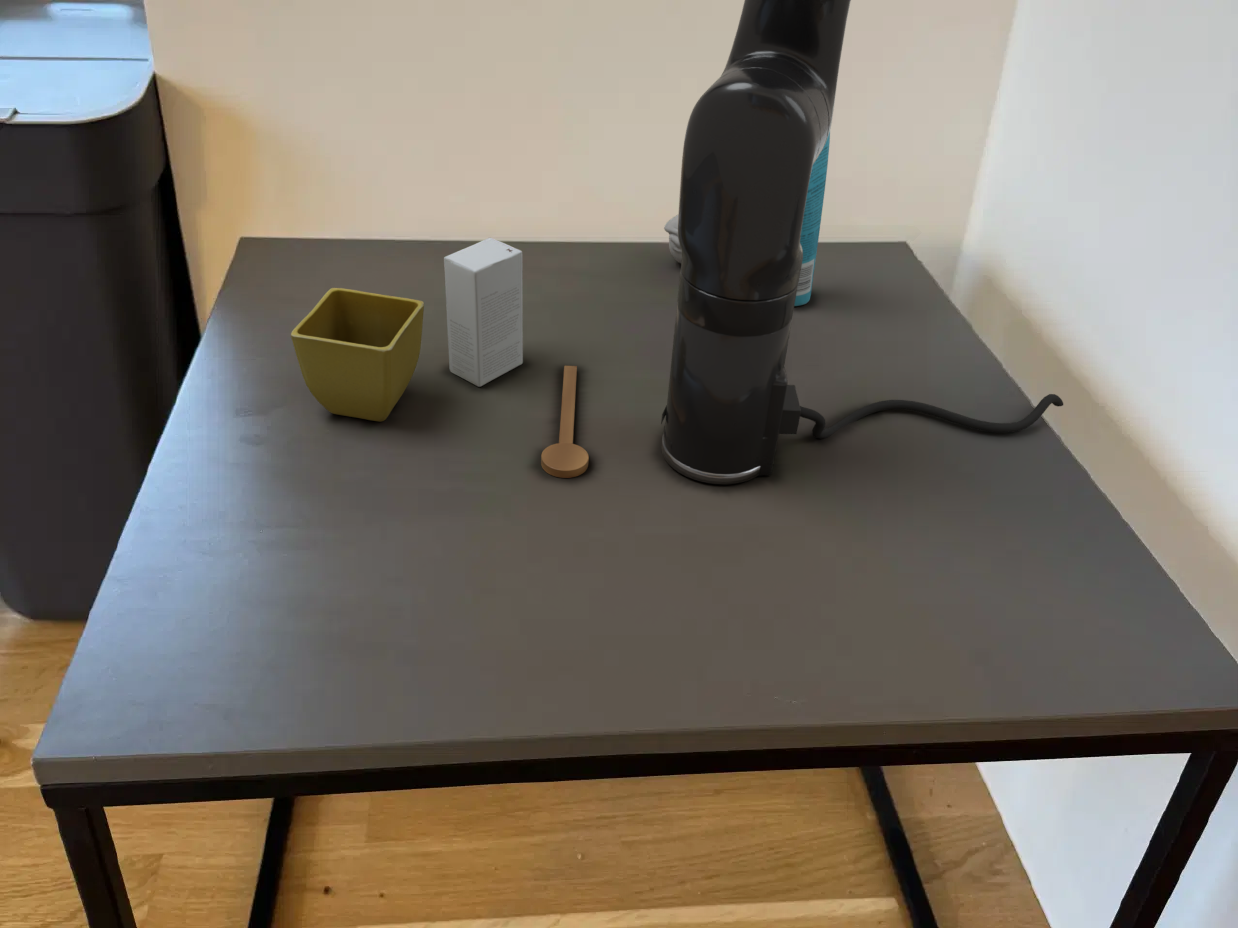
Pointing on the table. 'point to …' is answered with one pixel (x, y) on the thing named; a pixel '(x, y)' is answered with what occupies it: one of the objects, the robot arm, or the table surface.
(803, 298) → the tube
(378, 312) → the flower pot
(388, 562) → the table surface
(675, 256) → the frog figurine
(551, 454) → the wooden spoon
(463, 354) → the cosmetic box
